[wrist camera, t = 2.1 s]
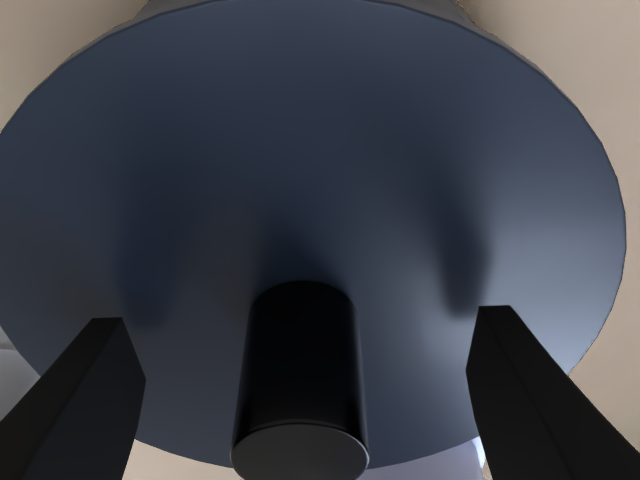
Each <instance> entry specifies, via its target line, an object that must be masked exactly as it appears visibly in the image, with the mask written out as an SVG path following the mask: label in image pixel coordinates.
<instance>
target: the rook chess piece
mask: <svg viewBox="0 0 640 480" xmlns="http://www.w3.org/2000/svg"><path fill="white" fill-rule="evenodd" d="M39 378H40V376H39V375H38V374H37V372H36V371H35V370H34V369H33V368H32V367H31V366H30V365H29V364H28V363H27V361H26V360H25V359H24V358H23V357H22V356H21V355H20V354H19V352H18V351H17V350H16V348H15V347H14V345H13V344H12V342H11V341H10V340H9V338H8V337H7V335H6V334H5V332H4V331H3V330H2V328H1V326H0V421H1V420H2V419H3V418H4V417H5V416H6V415H7V414H8V413H9V412H10V411H11V409H12V408H13V407H14V406H15V405H16V404H17V403H18V402H19V401H20V400H21V398H22V397H23V396H24V395H25V394H26V393H27V392H28V391H29V390H30V388H31V387H32V386H33V385H34V384H35V383H36V382H37V381H38V380H39Z"/></svg>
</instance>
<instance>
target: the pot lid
mask: <svg viewBox="0 0 640 480" xmlns="http://www.w3.org/2000/svg"><path fill="white" fill-rule="evenodd" d="M625 254H626V218H625V209H624V205H623V201H622V196H621V192H620V188H619V183H618V179H617V176H616V174H615V172H614V169H613V167H612V165H611V163H610V160H609V158H608V156H607V154H606V151H605V149H604V147H603V145H602V142H601V141H600V140H599V138H598V137H597V135H596V134H595V132H594V131H593V129H592V128H591V127H590V125H589V124H588V122H587V121H586V119H585V118H584V116H583V115H582V114H581V112H580V111H579V109H578V108H577V107H576V106H575V104H574V103H573V102H572V101H571V100H570V99H569V98H568V97H567V96H566V95H565V94H564V93H563V92H562V91H561V90H560V89H559V88H558V87H557V86H556V85H555V84H554V83H553V82H552V80H551V79H550V78H549V77H548V76H547V75H546V74H545V73H544V72H543V71H542V70H541V69H540V68H539V67H538V66H537V65H535V64H534V63H532V62H531V61H530V60H528V59H527V58H525V57H524V56H523V55H521V54H520V53H518V52H517V51H516V50H514V49H513V48H511V47H510V46H509V45H507V44H506V43H504V42H503V41H502V40H500V39H499V38H497V37H496V36H494V35H492V34H490V33H488V32H486V31H484V30H482V29H480V28H478V27H476V26H474V25H472V24H470V23H468V22H466V21H464V20H462V19H460V18H458V17H456V16H454V15H452V14H450V13H447V12H444V11H441V10H438V9H435V8H432V7H429V6H425V5H422V4H419V3H416V2H413V1H410V0H183V1H179V2H175V3H171V4H167V5H164V6H162V7H159V8H157V9H155V10H152V11H150V12H148V13H146V14H143V15H141V16H139V17H136V18H134V19H132V20H129V21H127V22H125V23H122V24H120V25H118V26H115V27H114V28H112V29H111V30H109V31H107V32H106V33H104V34H103V35H101V36H100V37H98V38H97V39H95V40H93V41H92V42H90V43H89V44H87V45H86V46H84V47H82V48H81V49H79V50H78V51H76V52H75V53H73V54H72V55H71V56H70V57H69V58H67V59H66V60H65V61H64V62H63V63H62V64H61V65H60V66H59V67H58V68H56V69H55V70H54V71H53V72H52V73H51V74H50V75H49V76H48V77H47V78H45V79H44V80H43V81H42V82H41V83H40V84H39V85H38V86H37V87H36V88H35V89H34V90H33V91H32V92H31V93H30V94H29V95H28V96H27V97H26V99H25V100H24V101H23V103H22V104H21V105H20V107H19V108H18V109H17V111H16V112H15V113H14V115H13V116H12V117H11V119H10V120H9V121H8V122H7V124H6V125H5V126H4V128H3V129H2V131H1V133H0V326H1V328H2V330H3V331H4V332H5V334H6V335H7V337H8V338H9V340H10V341H11V342H12V344H13V345H14V347H15V348H16V350H17V351H18V352H19V354H20V355H21V356H22V357H23V358H24V359H25V360H26V361H27V363H28V364H29V365H30V366H31V367H32V368H33V369H34V370H35V371H36V372H37V374H38V375H39V376H40V377H41V376H42V375H43V374H44V373H45V372H46V370H47V369H48V368H49V367H50V366H51V365H52V364H53V362H54V361H55V360H56V359H57V358H58V357H59V356H60V354H61V353H62V352H63V351H64V350H65V349H66V347H67V346H68V345H69V344H70V343H71V342H72V340H73V339H74V338H75V337H76V336H77V335H78V334H79V332H80V331H81V330H82V329H83V328H84V327H85V326H86V324H87V323H88V322H89V321H90V320H91V319H92V318H109V317H122V318H123V321H124V323H125V326H126V328H127V331H128V334H129V336H130V339H131V341H132V344H133V346H134V349H135V352H136V354H137V357H138V359H139V362H140V364H141V367H142V370H143V372H144V375H145V377H146V385H145V391H144V397H143V403H142V408H141V413H140V419H139V424H138V428H137V432H136V435H135V438H134V439H136V440H138V441H140V442H142V443H145V444H148V445H150V446H153V447H156V448H159V449H161V450H164V451H167V452H169V453H172V454H176V455H179V456H183V457H186V458H190V459H193V460H197V461H200V462H205V463H210V464H214V465H219V466H224V467H229V468H234V470H235V471H236V473H237V474H238V475H239V476H240V477H242V478H243V479H244V480H356V479H358V478H359V477H360V476H361V475H362V474H363V473H364V471H365V470H367V469H375V468H380V467H385V466H390V465H395V464H400V463H405V462H409V461H412V460H416V459H420V458H423V457H427V456H430V455H434V454H436V453H439V452H442V451H445V450H448V449H450V448H453V447H456V446H459V445H461V444H463V443H466V442H468V441H470V440H472V439H475V438H477V437H479V433H478V429H477V426H476V423H475V419H474V415H473V410H472V404H471V399H470V394H469V388H468V383H467V377H466V371H465V370H466V365H467V360H468V355H469V351H470V346H471V341H472V336H473V332H474V327H475V322H476V317H477V313H478V308H479V306H495V305H510V306H511V307H512V308H513V309H514V310H515V311H516V312H517V314H518V315H519V316H520V318H521V319H522V320H523V322H524V323H525V324H526V325H527V327H528V328H529V329H530V330H531V332H532V333H533V334H534V336H535V337H536V338H537V339H538V341H539V342H540V343H541V344H542V346H543V347H544V348H545V349H546V350H547V352H548V353H549V354H550V355H551V357H552V358H553V359H554V360H555V361H556V363H557V364H558V365H559V366H560V367H561V369H562V370H563V371H564V372H565V373H566V374H568V373H569V372H570V371H571V370H572V369H573V368H574V367H575V366H576V364H577V363H578V362H579V361H580V360H581V359H582V357H583V356H584V354H585V353H586V352H587V350H588V349H589V347H590V346H591V345H592V343H593V342H594V341H595V339H596V338H597V336H598V334H599V333H600V331H601V329H602V327H603V325H604V323H605V321H606V319H607V317H608V315H609V313H610V312H611V310H612V307H613V304H614V301H615V298H616V295H617V292H618V289H619V286H620V283H621V280H622V274H623V267H624V261H625Z"/></svg>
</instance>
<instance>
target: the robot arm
mask: <svg viewBox="0 0 640 480" xmlns="http://www.w3.org/2000/svg"><path fill="white" fill-rule="evenodd" d="M465 371H466V377H467V383H468V388H469V394H470V399H471V404H472V410H473V415H474V419H475V423H476V426H477V429H478V433H479V437H477V438H475V439H472V440H470V441H468V442H466V443H463V444H461V445H459V446H456V447H453V448H450V449H448V450H445V451H442V452H439V453H436V454H434V455H430V456H427V457H423V458H420V459H416V460H412V461H409V462H405V463H400V464H395V465H390V466H385V467H380V468H375V469H367V470H365V471H364V473H363V474H362V475H361V476H360V477H359V478H358V479H356V480H484V477H483V473H482V468H483V464H484V461H485V457H486V459H487V462H488V465H489V469H490V472H491V475H492V478H493V480H640V453H639V452H638V451H637V450H636V449H635V448H634V447H633V446H632V445H631V444H630V443H629V442H628V441H627V440H626V439H625V438H624V437H623V436H622V435H621V434H620V433H619V432H618V431H617V430H616V428H615V427H614V426H613V425H612V424H611V423H610V422H609V421H608V420H607V419H606V418H605V417H604V416H603V415H602V414H601V413H600V412H599V411H598V409H597V408H596V407H595V406H594V405H593V404H592V403H591V402H590V401H589V400H588V398H587V397H586V396H585V395H584V394H583V393H582V392H581V390H580V389H579V388H578V387H577V386H576V385H575V384H574V382H573V381H572V380H571V379H570V378H569V377H568V376H567V374H566V373H565V372H564V371H563V370H562V369H561V367H560V366H559V365H558V364H557V363H556V361H555V360H554V359H553V358H552V357H551V355H550V354H549V353H548V352H547V350H546V349H545V348H544V347H543V346H542V344H541V343H540V342H539V341H538V339H537V338H536V337H535V336H534V334H533V333H532V332H531V330H530V329H529V328H528V327H527V325H526V324H525V323H524V322H523V320H522V319H521V318H520V316H519V315H518V314H517V312H516V311H515V310H514V309H513V308H512V307H511V306H510V305H495V306H479V308H478V313H477V317H476V322H475V327H474V332H473V336H472V341H471V346H470V351H469V355H468V360H467V365H466V370H465ZM145 385H146V377H145V375H144V372H143V370H142V367H141V364H140V362H139V359H138V357H137V354H136V352H135V349H134V346H133V344H132V341H131V339H130V336H129V334H128V331H127V328H126V326H125V323H124V321H123V318H122V317H109V318H92V319H91V320H90V321H89V322H88V323H87V324H86V326H85V327H84V328H83V329H82V330H81V331H80V332H79V334H78V335H77V336H76V337H75V338H74V339H73V340H72V342H71V343H70V344H69V345H68V346H67V347H66V349H65V350H64V351H63V352H62V353H61V354H60V356H59V357H58V358H57V359H56V360H55V361H54V362H53V364H52V365H51V366H50V367H49V368H48V369H47V370H46V372H45V373H44V374H43V375H42V376H41V377H40V378H39V380H38V381H37V382H36V383H35V384H34V385H33V386H32V387H31V388H30V390H29V391H28V392H27V393H26V394H25V395H24V396H23V397H22V398H21V400H20V401H19V402H18V403H17V404H16V405H15V406H14V407H13V408H12V409H11V411H10V412H9V413H8V414H7V415H6V416H5V417H4V418H3V419H2V420H1V421H0V480H122V477H123V474H124V471H125V468H126V465H127V461H128V458H129V455H130V451H131V448H132V445H133V442H134V438H135V435H136V432H137V428H138V424H139V419H140V413H141V408H142V403H143V397H144V391H145Z"/></svg>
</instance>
